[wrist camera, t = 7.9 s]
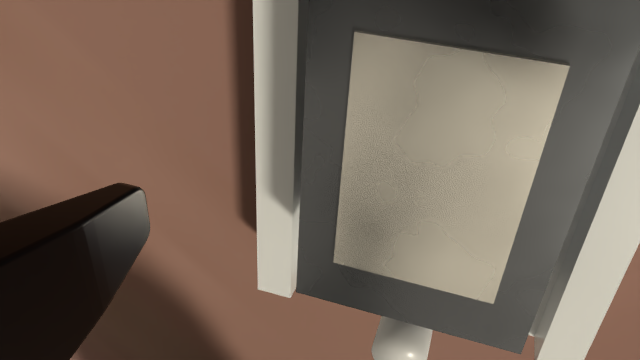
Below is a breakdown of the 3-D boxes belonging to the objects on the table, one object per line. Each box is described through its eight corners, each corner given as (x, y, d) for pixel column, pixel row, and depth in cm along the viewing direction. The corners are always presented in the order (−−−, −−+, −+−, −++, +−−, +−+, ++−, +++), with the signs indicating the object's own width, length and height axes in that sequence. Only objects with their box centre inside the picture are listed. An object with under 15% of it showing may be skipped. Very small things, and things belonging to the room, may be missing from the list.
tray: (572, 328, 18) (579, 428, 15) (279, 253, 21) (235, 327, 18) (836, -280, 10) (976, -330, 7) (285, -287, 12) (202, -326, 9)
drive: (522, 265, 17) (520, 357, 14) (332, 220, 18) (294, 294, 15) (649, -104, 11) (690, -81, 8) (362, -130, 13) (311, -118, 10)
